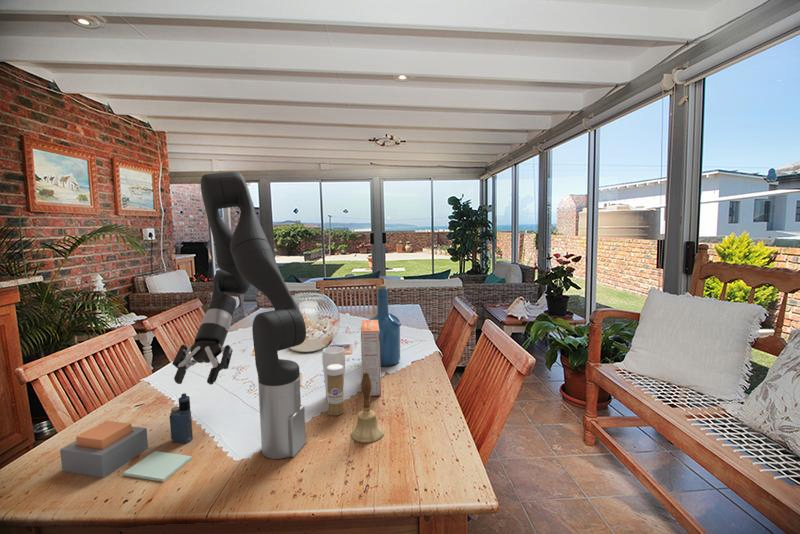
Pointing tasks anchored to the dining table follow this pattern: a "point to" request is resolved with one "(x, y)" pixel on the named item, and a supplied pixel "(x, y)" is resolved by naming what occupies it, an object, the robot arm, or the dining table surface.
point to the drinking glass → (333, 361)
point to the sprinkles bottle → (335, 389)
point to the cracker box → (371, 354)
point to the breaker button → (104, 435)
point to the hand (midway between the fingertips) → (193, 383)
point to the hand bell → (366, 417)
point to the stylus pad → (158, 466)
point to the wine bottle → (387, 330)
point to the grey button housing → (103, 455)
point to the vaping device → (181, 421)
